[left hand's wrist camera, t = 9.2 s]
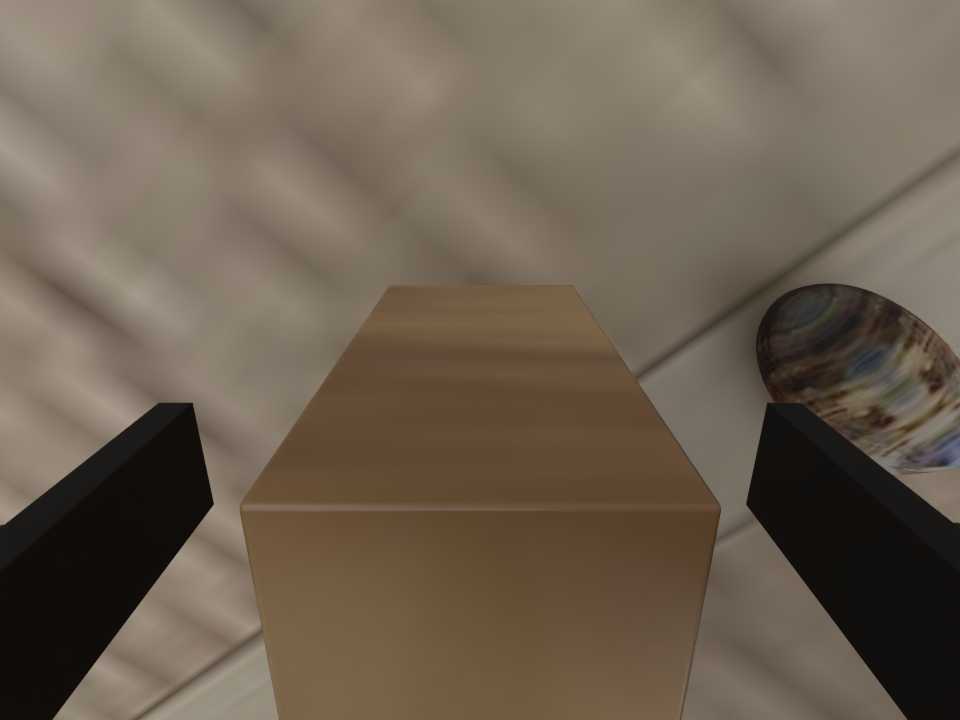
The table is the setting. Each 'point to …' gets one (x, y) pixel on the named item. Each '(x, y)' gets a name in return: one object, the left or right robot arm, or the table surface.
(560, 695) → the bar
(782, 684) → the table surface
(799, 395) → the seashell
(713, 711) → the table surface
